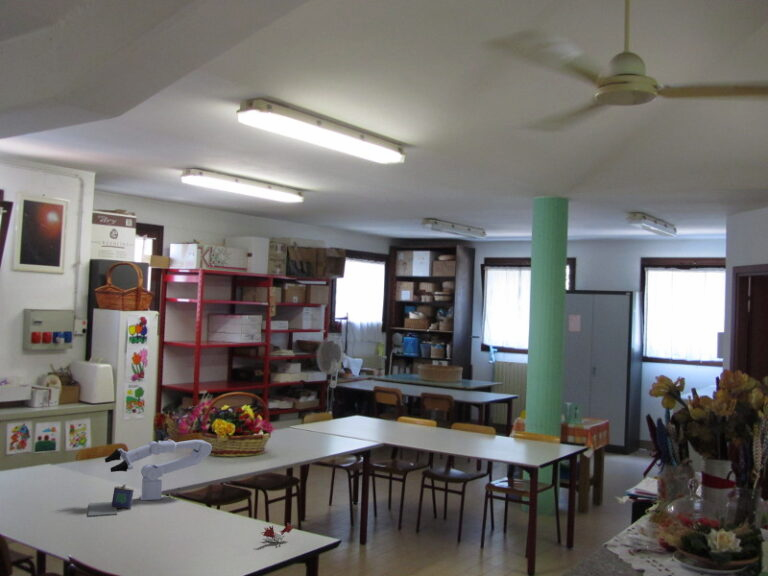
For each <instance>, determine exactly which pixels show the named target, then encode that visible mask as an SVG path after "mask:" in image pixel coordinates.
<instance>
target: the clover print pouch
mask: <svg viewBox="0 0 768 576" xmlns="http://www.w3.org/2000/svg"><path fill="white" fill-rule="evenodd" d="M134 492H135V491H134V488H128V487H127V484H124V483H123V484H122V486H120V485H118V486H115V487H114V489H113V494H112V499H111V502H112V507H116V508H118V509H126V510H131V508H132V503H133V498H134V497H133V496H134Z"/></svg>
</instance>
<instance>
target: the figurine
mask: <svg viewBox="0 0 768 576" xmlns="http://www.w3.org/2000/svg"><path fill="white" fill-rule="evenodd" d="M286 523H287V524H286V525H285V527H284V528H283V529H282V530H279V531H276V532H275V529H274V525H272V526H270V525H269V526H268V527H263V528H264V531H261V532H260V534H261V535H263V537H266V541H268V542H272V541H275V543H277V542H279V541H281V542H283V541H284V540H283V539H284V538H285V537H286V536H285V534H284V533H288V534H289V533H290V532H291V531H292V530H294V528H293V524H291V523H290V522H286Z"/></svg>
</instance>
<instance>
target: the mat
mask: <svg viewBox="0 0 768 576" xmlns="http://www.w3.org/2000/svg"><path fill="white" fill-rule="evenodd" d="M117 515H118V509H117V508H116V507H112V501H110V502H109V501H106V502H105V501H104V502H93V503H92V502H91V503H90V502H89V505H88V516H87V517H88V518H90V517H101V516H103V517H106V516H117Z"/></svg>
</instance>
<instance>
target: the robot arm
mask: <svg viewBox="0 0 768 576" xmlns="http://www.w3.org/2000/svg"><path fill="white" fill-rule="evenodd" d="M180 449H192V452H191V454H190V455H189V456H184V457H182V458H178V459H175V460H170V461H167V462H163V463H158V464H157V463H156V464H145V465H143V467H142V468H141V470H140V474H141V476H142V480H141V495H140V501H153V500H155V501H156V500H157V501H158V500H162V495H163V491H162V487H163V486H162V479H160V477H163V475H165V474H169V473H173V472H175V471H179V470H182V469H185V468H190V467H192V466H197V465H198V464H200V463H201V462H202V461H203V460H204V459H205V458H207V457H209V456H210V454H211V452H212V450H213V446H212V444H211V443H210V442H207V441H205V440H203V439H190V440H189V439H188V440H184V441H178V442H177V441H174V440H172V439H170V438H169V439H167V440H158V441H154V440H153V441H148V443H147V444H145V445H142V446H140V447H136V448H134V449H131V450H129V451H126V450H124V449H123V448H116V449H115V450H114V451H113V452H112V453H111V454H109V456H107V457H105V458H104V462H105V463H110V462H113V461H121V459H122V460H123V461H121V462H120V463H118V464H116V465H114V466H112V467H110V472H111V473H115V472H126V473H127V472H128V471H131V470H133V469H134V466H133V464H132V463H135V462H138V461H140V460H143V459H146V458H148V457H150V456H152V455H155V456H158V455H160V454H164V453H165V454H166V453H174V452H175V451H176V450H180Z"/></svg>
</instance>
